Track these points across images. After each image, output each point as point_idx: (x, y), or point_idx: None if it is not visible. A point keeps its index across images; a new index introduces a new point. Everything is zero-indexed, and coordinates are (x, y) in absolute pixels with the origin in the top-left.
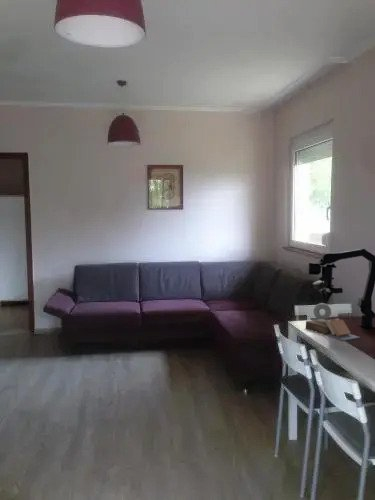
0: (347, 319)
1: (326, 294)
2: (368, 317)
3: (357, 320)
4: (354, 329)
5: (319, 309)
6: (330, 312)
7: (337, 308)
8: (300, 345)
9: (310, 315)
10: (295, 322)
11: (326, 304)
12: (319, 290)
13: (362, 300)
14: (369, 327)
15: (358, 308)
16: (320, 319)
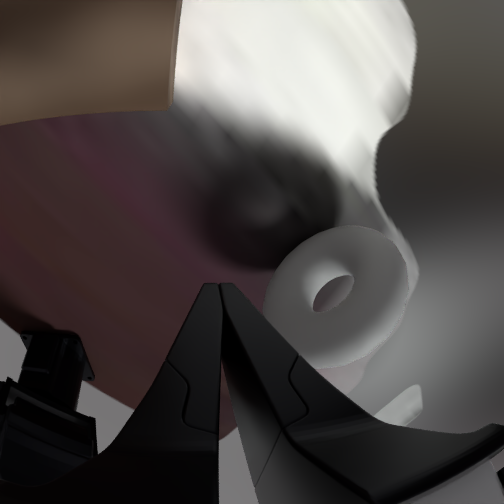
0: None
1: (120, 451)
2: (3, 381)
3: None
4: (17, 259)
5: (355, 282)
6: None
7: None
8: None
9: (416, 272)
10: (384, 14)
11: (326, 364)
12: (471, 469)
13: (3, 478)
14: (25, 342)
15: (87, 437)
16: (157, 69)
